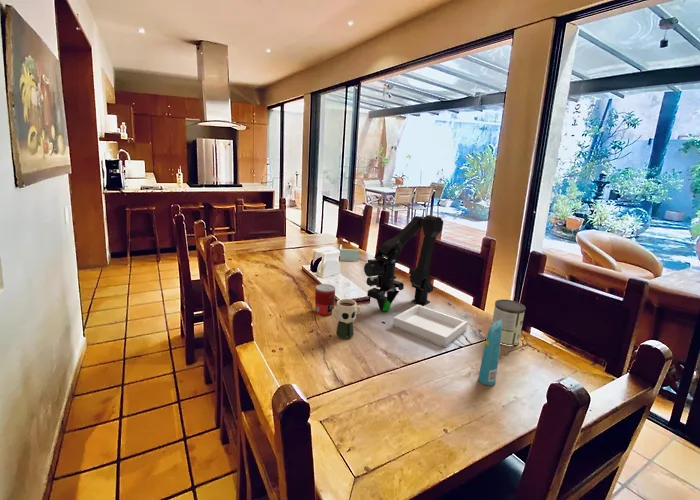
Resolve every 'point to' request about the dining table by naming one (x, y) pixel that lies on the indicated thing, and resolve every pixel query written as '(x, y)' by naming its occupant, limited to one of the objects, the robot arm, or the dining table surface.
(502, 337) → the coffee can
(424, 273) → the robot arm
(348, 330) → the character mug
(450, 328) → the white tray
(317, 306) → the canned food
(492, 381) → the tube
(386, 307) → the polyhedron
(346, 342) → the dining table surface
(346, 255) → the l-shaped corner panel
